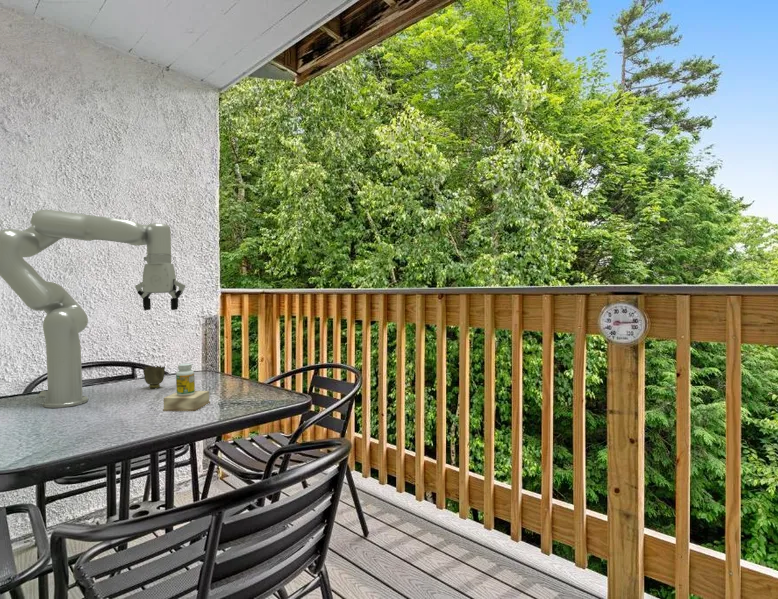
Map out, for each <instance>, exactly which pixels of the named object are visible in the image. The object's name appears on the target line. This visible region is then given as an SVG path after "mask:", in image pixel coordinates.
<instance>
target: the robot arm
mask: <svg viewBox="0 0 778 599" xmlns="http://www.w3.org/2000/svg"><path fill="white" fill-rule="evenodd" d="M30 224H31V226H29V227H28V228H26V229H25V230H20V229H13V228H8V229H7V228H6V229H2V230H0V277H1V278H2V279H3V281H4V282H5V283H7V285H8V286H9V288H11V290H13V292H14V293H15V294H16V295H17V296H18V297H19V299H21V301H22V302H23V303H24V304H25V305H26V306H27V307H28V308H29V309H31V310H33V311H37V312H38V311H40V312H41V311H43V312H45V314H46V316H45V317H44V318H43V322H42V330H43V331H42V332H43V335H44V339H45V348H46V349H45V351H46V354H45V356H46V375H47V390H41V391H40V392H39V393H38V395H37V398H39V399H43V398H44V401H43V402H42V407H44V408H49V409H50V408H51V409H52V408H53V409H55V408H56V409H57V408H68V407H72V406H73V407H74V406H79V405H82V403H83V404H85V403H87V402H88V401H89V397H88V396H86V395H83V374H82V373H83V372H82V371H83V370H82V369H83V368H82V348H81V340H80V334H79V333H81V332H83V331H84V330H85V329H86V327H87V326H88V322H89V317H88V315H87V313H86V312H85V310H84V309H83V308H82V306H80V304H79V303H78V302H77V301H76V300H75V299H74V298H73V297H72V295H71V294H70V293H69V292H68V291H67V290H66V289H65V288H64V287H63V286H61V285H60V284H58V283H56V282H52V281H47V280H46V279H44V278H43V277H42V276H41V275H40V274H39V273H38V272H37V271H36V269H35V268H34V267H33V266H32V265H31V264H30V263H29V262H27V261H26V260H25V259H24V258H30V257H33V256H36V255H38V254H39V253H42V252H43V251H44V250H46V249H47V248H49V247H51V246H52V245H54V244H55V243H57V242H59V241H60V240H61V239H69V240H71V239H72V240H76V241H77V240H78V241H79V240H80V241H87V242H90V241H106V242H114V243H124V244H128V245H131V246H136V247H137V246H146V256H143V261H144V262H145V261H146V263H145V264H144V266H143V267H144V268H143V272H142V273H143V274H142V281H141V282H140V283H138V284H136V285H135V286H134V288H135V290H136V292H137V294H138V295H139V296H140V298H141V299H142V307H143V310H144V311H149V310H151V308H152V306H151V305H152V304H151V298H150V296H151V295H152V294H165V293H166V294H169V295H170V296H171V297H172V298H170V309H171V310H172V311H176V310H178V308H179V298H180V297H181V295H182V294H183V292H184V290H185V289H186V285H185V284H184V283H181V282H180V281H178V280H177V276H176V270H175V266H174V264H173V263H172V239H171V238H172V236H171V234H172V232H171V226H170V225H168V224H166V223H148V224H142V223H141V224H140V223H138V222H136V221H133V220H127V219H121V218H113V217H106V216H99V215H98V216H97V215H90V214H83V213H76V212H67V211H62V210H61V211H60V210H55V209H53V210H52V209H40V210H37V211H35V212H34V213H33V214H32V216H31V217H30ZM177 287H178V290H177Z"/></svg>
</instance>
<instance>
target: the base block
mask: <svg viewBox="0 0 778 599" xmlns="http://www.w3.org/2000/svg"><path fill="white" fill-rule="evenodd" d="M162 400H163V409H162V411H163V412H197V411H199V410H200V409H202V408H204V407H206V406H207V405H206V404H208V403H209V404H211V401H210V390H195V393H194V394H193V395H189V396H178V395H177V391H176V392H173V393H172V394H169V395H167V396H164V397H163V399H162ZM209 404H208V405H209ZM205 405H206V406H205ZM203 406H204V407H203ZM201 407H202V408H201ZM198 409H199V410H198ZM196 410H197V411H196Z"/></svg>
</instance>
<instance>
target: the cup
mask: <svg viewBox="0 0 778 599" xmlns="http://www.w3.org/2000/svg"><path fill="white" fill-rule="evenodd" d="M165 369H166V367H165V365H163V366H161V365H157V366H155V365H154V366H153V367H152V366H150V365H149V366H145V368H144V367H143V368H142V371H143V378H144V381H145V383H146V384H148V388H149V389H151V390H155V388H157V389H160V387H161V385H160V384H161V383H162V382H163V381H164V377H165V371H166V370H165Z"/></svg>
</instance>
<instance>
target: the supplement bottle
mask: <svg viewBox="0 0 778 599" xmlns="http://www.w3.org/2000/svg"><path fill="white" fill-rule="evenodd" d="M192 366H193V365H192V363H179V364H178V365H177V370H178V371H176V374H175V377H176V378H175V381H176V392H177V395H178V396H189V395H193V394H194V393H195V391H196V387H195V386H196V383H195V381H196V380H195V379H196V378H195V371H194V370H192V369H193V367H192Z"/></svg>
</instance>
